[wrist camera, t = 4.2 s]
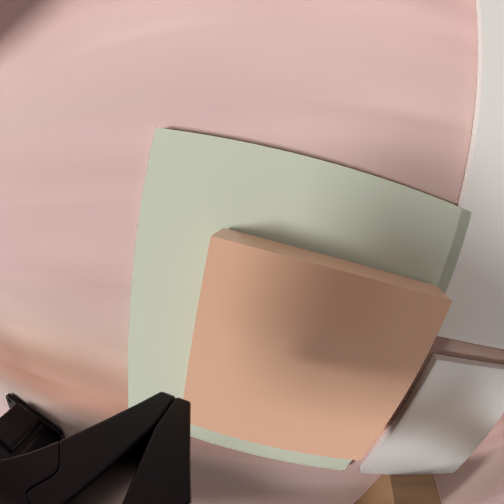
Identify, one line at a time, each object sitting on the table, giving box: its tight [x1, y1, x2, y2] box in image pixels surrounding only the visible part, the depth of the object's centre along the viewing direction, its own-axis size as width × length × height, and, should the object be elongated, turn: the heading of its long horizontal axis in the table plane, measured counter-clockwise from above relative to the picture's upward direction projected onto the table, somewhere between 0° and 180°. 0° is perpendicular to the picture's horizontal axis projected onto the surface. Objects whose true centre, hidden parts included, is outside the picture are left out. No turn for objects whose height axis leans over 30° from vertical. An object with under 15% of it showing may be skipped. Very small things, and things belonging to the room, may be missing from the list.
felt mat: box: [128, 127, 472, 470], centre depth 12 cm, size 14×12×1 cm
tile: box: [183, 228, 452, 461], centre depth 11 cm, size 8×2×8 cm
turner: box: [355, 353, 504, 504], centre depth 11 cm, size 16×7×4 cm, turn 167°
